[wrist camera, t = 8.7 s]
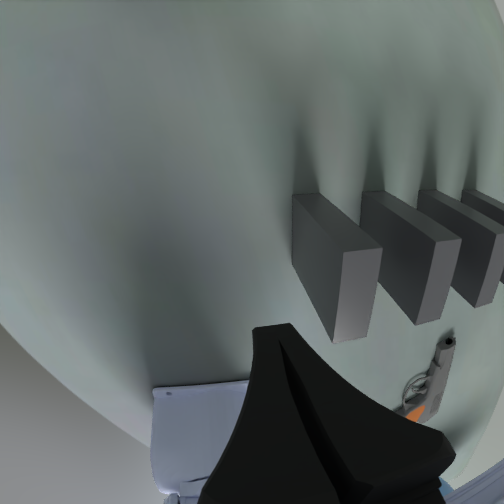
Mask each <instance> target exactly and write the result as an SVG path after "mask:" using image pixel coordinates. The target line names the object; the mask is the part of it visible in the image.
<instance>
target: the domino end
mask: <svg viewBox="0 0 504 504" xmlns="http://www.w3.org/2000/svg"><path fill="white" fill-rule="evenodd" d="M461 203H463V204H465V205H467V206H469V207H471V208H472V209H474V210H476V211H478V212H480V213H482V214H483V215H485V216H487V217H489V218H490V219H492V220H494V221H496V222H497V223H499V224H501V225H502V226H504V204H503V203H501V202H499V201H497V200H495V199H493V198H491V197H489V196H487V195H485V194H483V193H481V192H479V191H477V190H463V191H462V198H461ZM500 281H501V282H502V283H503V284H504V268H503V271H502V274H501V278H500Z"/></svg>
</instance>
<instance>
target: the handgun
mask: <svg viewBox="0 0 504 504" xmlns="http://www.w3.org/2000/svg"><path fill="white" fill-rule="evenodd" d="M455 345H456V340H455V338H453V337H450V338H448V343H447V344H446V343H445V340H444V341H442V342H441V343H439V344H437V346H436V353H435V358H434V360H432V362H431V365H430V369H429V371H428V374H427V376H425V377H423V378H419V379H417V380H416V381H415V382H413V383H412V384H411V385H410V386H409V387H408V389H407V390H406V392H405V395H404V398H403V407H402V408H401V409H399V410H397V411H396V412H395V413H397V414H399V415H401V416H403V417H405V418H407V419H409V420H412V421H414V422H419V423H425V422H426V421H428V420H429V419H430V418H431V417H433V416H434V415H435V414H436V413H437V412H438V409H439V406H440V403H441V400H442V396H443V393H444V389H445V386H446V382H447V379H448V375H449V371H450V367H451V363H452V358H453V354H454V349H455ZM419 380H426V382H425V385H424V387H422V388H420V389H419V390H417V391H415V390H413V388H412V391H413V393H419V394H418V395H417V396H416V397H415V398H413V399H411V400H409V401H408V402H407V403H405V398H406V395H407V393H408V391H409V389H410V388H411V386H412V385H414V384H415V383H416V382H418V381H419Z"/></svg>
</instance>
